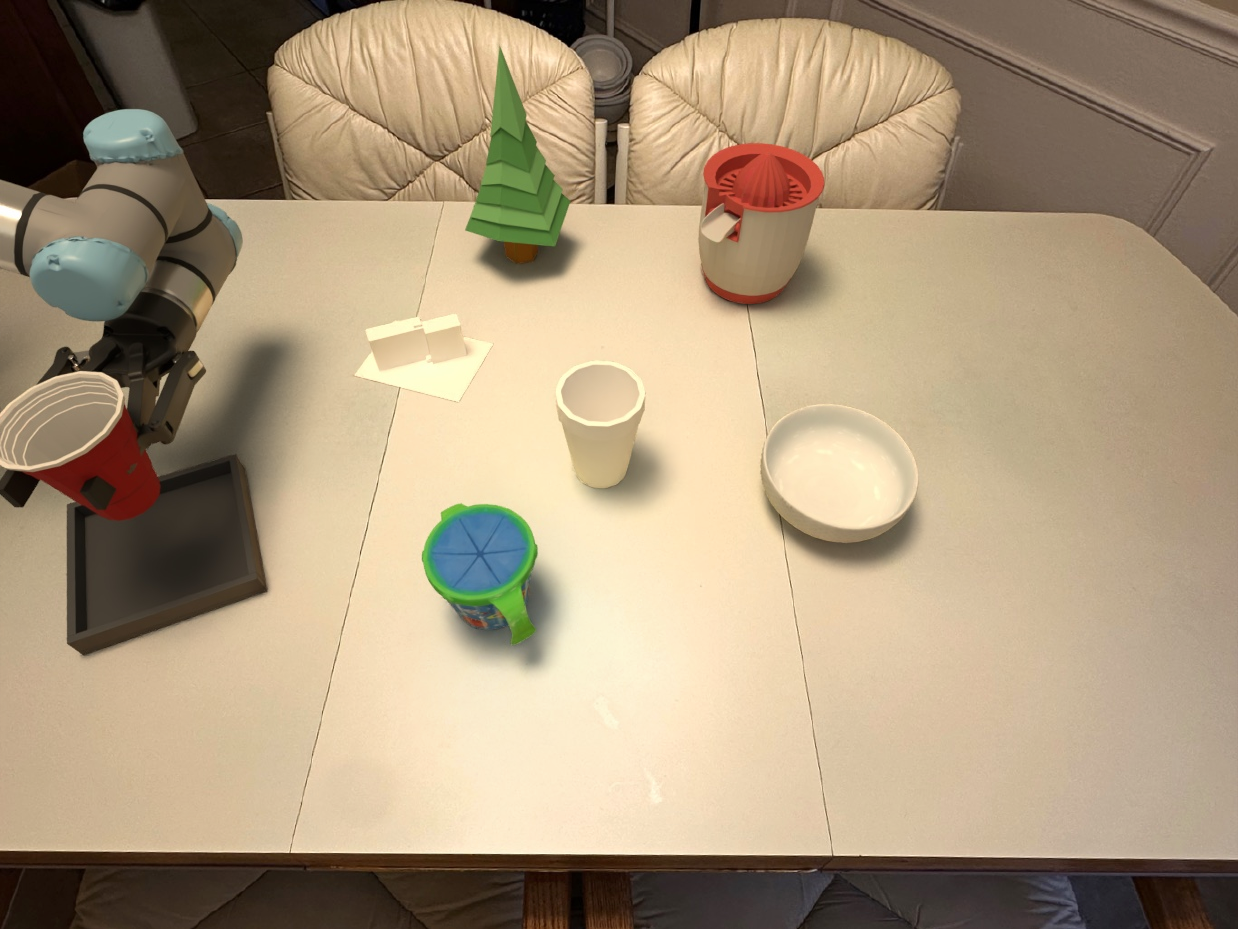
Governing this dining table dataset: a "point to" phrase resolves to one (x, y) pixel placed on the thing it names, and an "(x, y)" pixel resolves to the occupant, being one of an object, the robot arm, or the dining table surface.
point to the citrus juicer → (756, 219)
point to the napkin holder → (424, 356)
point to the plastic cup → (79, 441)
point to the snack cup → (483, 566)
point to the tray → (163, 557)
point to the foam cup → (600, 419)
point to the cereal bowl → (838, 472)
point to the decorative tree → (516, 181)
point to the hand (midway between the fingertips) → (51, 499)
